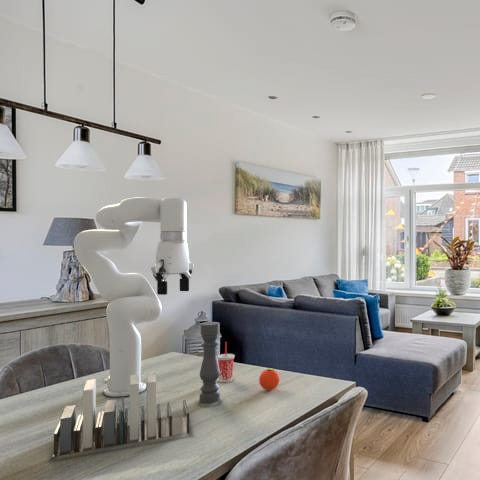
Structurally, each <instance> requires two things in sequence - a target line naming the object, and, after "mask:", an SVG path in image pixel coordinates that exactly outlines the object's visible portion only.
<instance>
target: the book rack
mask: <svg viewBox="0 0 480 480" xmlns="http://www.w3.org/2000/svg"><path fill="white" fill-rule="evenodd" d="M145 414H146V413H145V405H141V406H140V423H139V439H137V440H131V441H130V425H129V408H128V407H126V408H125V396H121V403H120V409H119V408H118V409H117V414H116V431H115V440H114V444H108V445H104V411H103V410H102V411H98V413H97V416H96V426H95V438H94V442H93V447H91V448H85V449H83V413H82V414H78V415H77V417H76V424H75V427H74V430H73V446H72V449H71V451H68V452H62V453H60V420H59V422H58V423H57V426H56V427H55V430H54V433H53V454H52V458H54V457H55V458H56V457H60V456H67V455H72V454H78V453H84V452H89V451H90V452H91V451H95V450H100V449H106V448H112V447H118V446H124V445H129V444H136V443H141V442H146V441H147V442H148V441H152V440H159V439H163V438H169V437H174V436H175V437H176V436H182V435H187V434H191V430H190V410H189V408H188V403H187V400H186V399H183V401H182V416H180V417H174V418H173V413H172V409H171V404H170V401H167V402H166V419H162V412H161V405H160V403H156V436H155V437H149V438H147V422H146V415H145Z"/></svg>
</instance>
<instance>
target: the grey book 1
mask: <svg viewBox="0 0 480 480" xmlns="http://www.w3.org/2000/svg"><path fill="white" fill-rule="evenodd" d="M59 421H60V453H62V452H68V451H71V449H72V446H73V430H74V427H75V424H76V421H77V405H76V404H72V405H66V406H65V407H64V409H63V411H62V414H61V416H60V418H59Z"/></svg>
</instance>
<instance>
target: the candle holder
mask: <svg viewBox="0 0 480 480" xmlns="http://www.w3.org/2000/svg"><path fill="white" fill-rule="evenodd" d="M219 334H220V322H218V321H206V322H201V323H200V335H201V338H202V340H203V341H202V342H201V344H200V345H201V347H202V349H203V358H202V362H201V365H200V369H199V377H200V380H201V382H202V385H201V387H200V388H199V389H200V390H199V398H198V399H199V403H201V404H214V403H217V402H219V401H221V391H220V386H219V384H218V383H217V382H218V380H219V376H220V369H219V365H218V359H217V347H218V346H219V341H218V337H219Z"/></svg>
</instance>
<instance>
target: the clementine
mask: <svg viewBox="0 0 480 480" xmlns="http://www.w3.org/2000/svg"><path fill="white" fill-rule="evenodd" d="M280 381H281V379H280V374H279V373H278V371H276V369H274V368H273V367H271V368H267V369H264V370H263V371H262V372H261V373H260V375H259V378H258V382H259V385H260V387H261V388H262V389H264V390H266V391H271V390H274V389H275V388H277V386H278V385H279V384H280Z"/></svg>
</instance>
